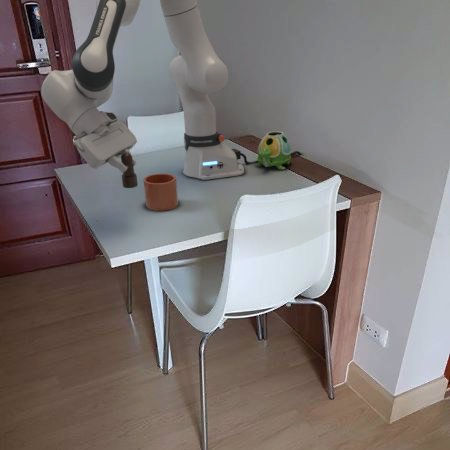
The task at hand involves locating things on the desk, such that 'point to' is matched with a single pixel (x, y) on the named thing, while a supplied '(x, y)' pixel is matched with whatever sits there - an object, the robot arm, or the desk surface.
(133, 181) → the pestle
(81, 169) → the desk surface
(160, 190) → the cup
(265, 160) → the turtle holder
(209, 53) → the robot arm
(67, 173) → the desk surface
